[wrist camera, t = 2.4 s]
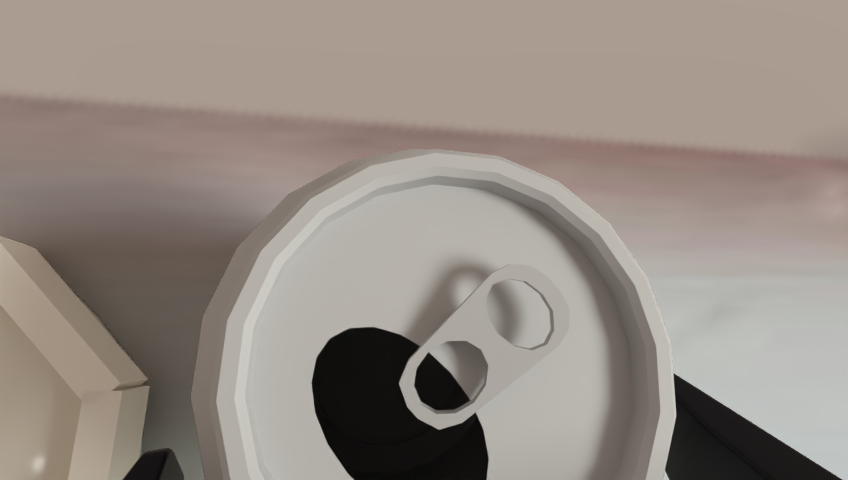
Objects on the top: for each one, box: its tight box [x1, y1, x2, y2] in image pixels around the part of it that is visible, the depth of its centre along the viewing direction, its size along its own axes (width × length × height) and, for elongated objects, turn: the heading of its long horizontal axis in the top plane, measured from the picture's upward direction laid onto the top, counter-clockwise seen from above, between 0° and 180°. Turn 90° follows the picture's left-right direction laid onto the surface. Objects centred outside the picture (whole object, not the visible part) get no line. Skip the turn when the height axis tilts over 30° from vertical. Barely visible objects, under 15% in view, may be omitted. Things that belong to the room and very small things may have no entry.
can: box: [191, 149, 676, 480], centre depth 12 cm, size 8×8×12 cm
